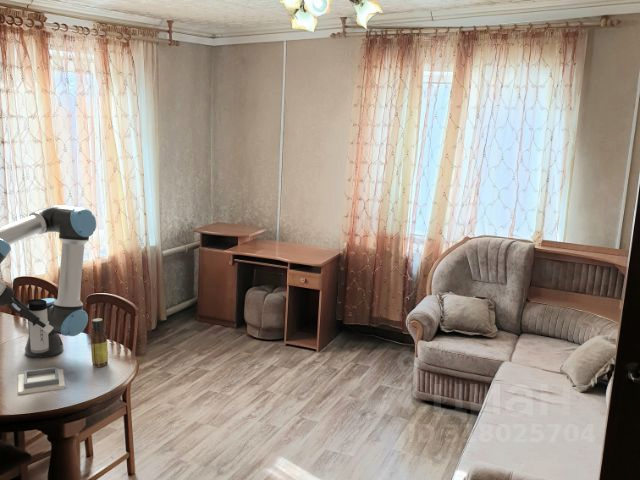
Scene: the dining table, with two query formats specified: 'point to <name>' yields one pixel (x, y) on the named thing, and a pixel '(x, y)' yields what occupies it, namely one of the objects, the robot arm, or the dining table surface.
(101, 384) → the dining table surface
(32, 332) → the travel mug
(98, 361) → the sauce bottle
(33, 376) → the mug tray
